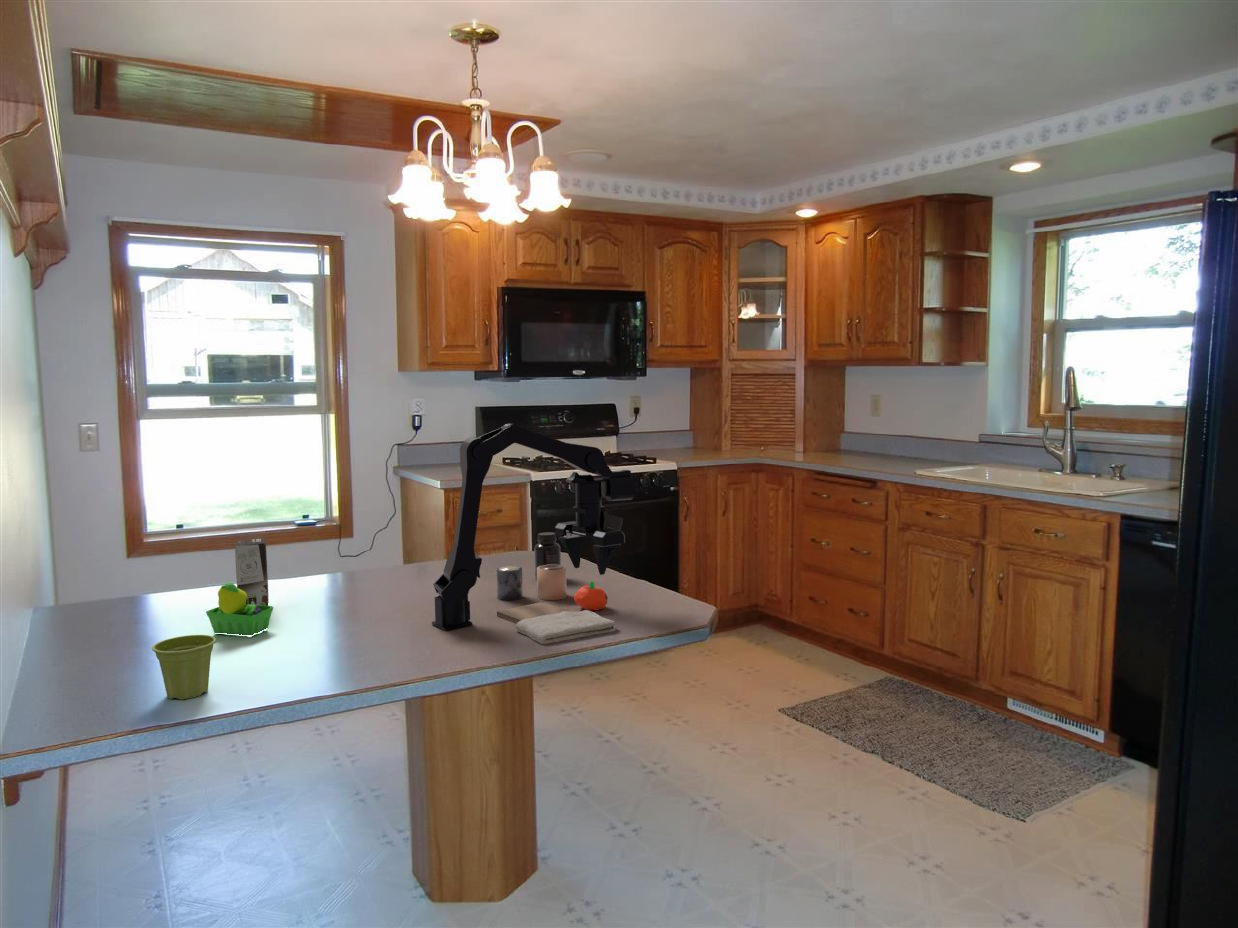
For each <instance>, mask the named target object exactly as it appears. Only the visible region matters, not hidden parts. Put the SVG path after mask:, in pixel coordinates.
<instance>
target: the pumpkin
mask: <svg viewBox="0 0 1238 928" xmlns="http://www.w3.org/2000/svg"><path fill="white" fill-rule="evenodd" d="M590 582H591V583H590V585H583V586H581V587H580V588H579V589H578V590H577V592H576V593H575V594H574V597H573V600H574V602H575V604H576V605H578V606H579V607H580V608H582V609H583V610H589V611H599V610H602V609H604V608H605V607H606V605H607V604H608V595H607V593H606V591H605V590H603V589H602V588H601V587H596V586H595V582H594V581H590Z"/></svg>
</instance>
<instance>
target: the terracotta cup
mask: <svg viewBox="0 0 1238 928" xmlns="http://www.w3.org/2000/svg"><path fill="white" fill-rule="evenodd" d="M567 584H568V582H567V566H566V565H562V564H561V565H543V566H539V567H537V580H536V592H537V593H536V594H537V599H539V600H543V601H558V600H562V599H566V598H567V597H568V595H567V593H568V592H567V588H568V587H567V586H568V585H567Z"/></svg>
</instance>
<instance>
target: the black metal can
mask: <svg viewBox="0 0 1238 928" xmlns="http://www.w3.org/2000/svg"><path fill="white" fill-rule="evenodd" d="M523 589H524V588H523V567H522V566H518V565H505V566H499V567H497V568H496V592H497V594H496V596H497V599H498V600H500V601H508V602H510V601H511V602H512V601H518V600H521V599H522V598H523V597H524V596H523V595H524V593H523V591H524V590H523Z"/></svg>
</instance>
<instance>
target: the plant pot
mask: <svg viewBox="0 0 1238 928" xmlns="http://www.w3.org/2000/svg"><path fill="white" fill-rule="evenodd" d="M216 640H217V639H216V637H215V636H213V635H209V634H191V635H189V634H188V635H181V636H175V637H172V638H166V639H165V640H161V641H160V642H157V643H155V644H153V645H152V647H151V650H152V651H153V652H154V653H155V657H156V659H157V660H158V662H159V666H160V670H161V675H162V678H163V684H164V688H165V693H166V697H167V698H168V699H175V698H176V699H178V700H187V699H192V698H196V697H199V696H201V695H202V694H203V693H207V692H208V691H209V684H210V683H209V682H210V670H211V669H210V668H211V667H210V666H211V659H212V657H211V656H212V651H213V650H214V644H215V643H216Z"/></svg>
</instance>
